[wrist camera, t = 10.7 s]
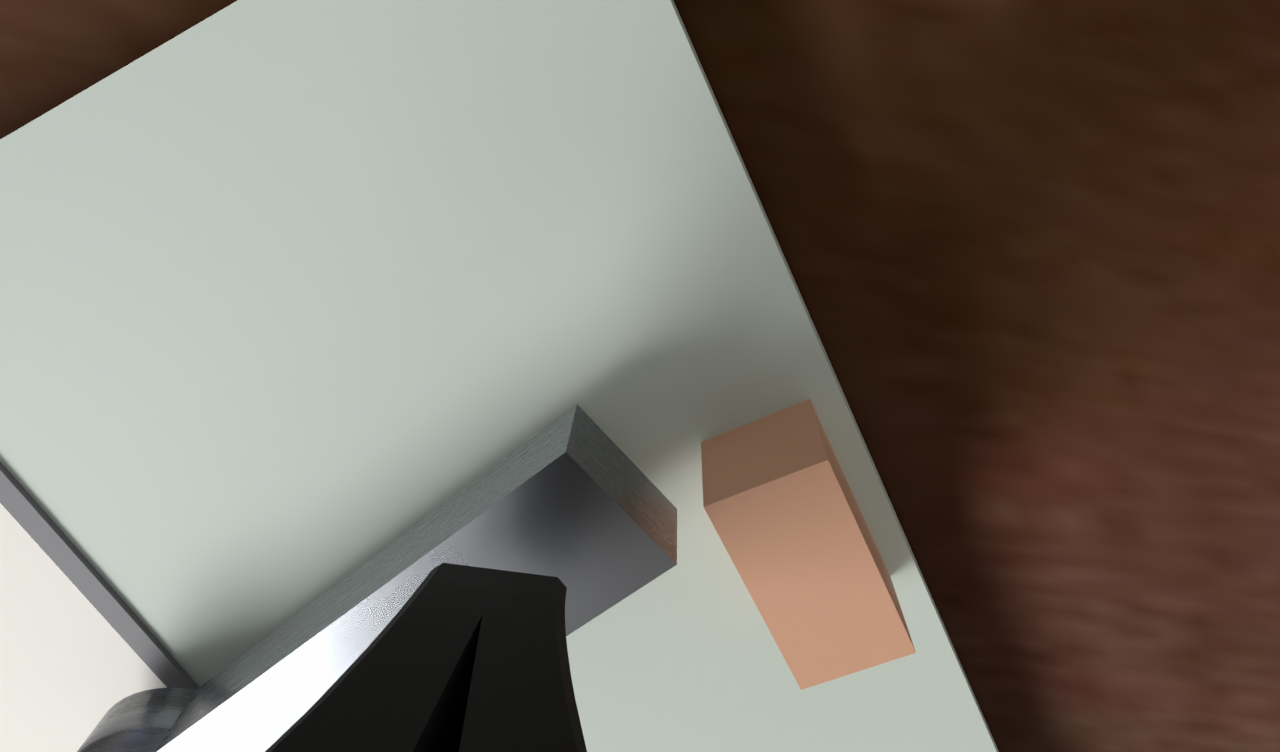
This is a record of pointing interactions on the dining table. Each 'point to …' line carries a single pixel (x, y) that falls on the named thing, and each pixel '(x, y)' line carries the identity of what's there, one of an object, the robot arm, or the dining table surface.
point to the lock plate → (431, 369)
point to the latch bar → (375, 592)
